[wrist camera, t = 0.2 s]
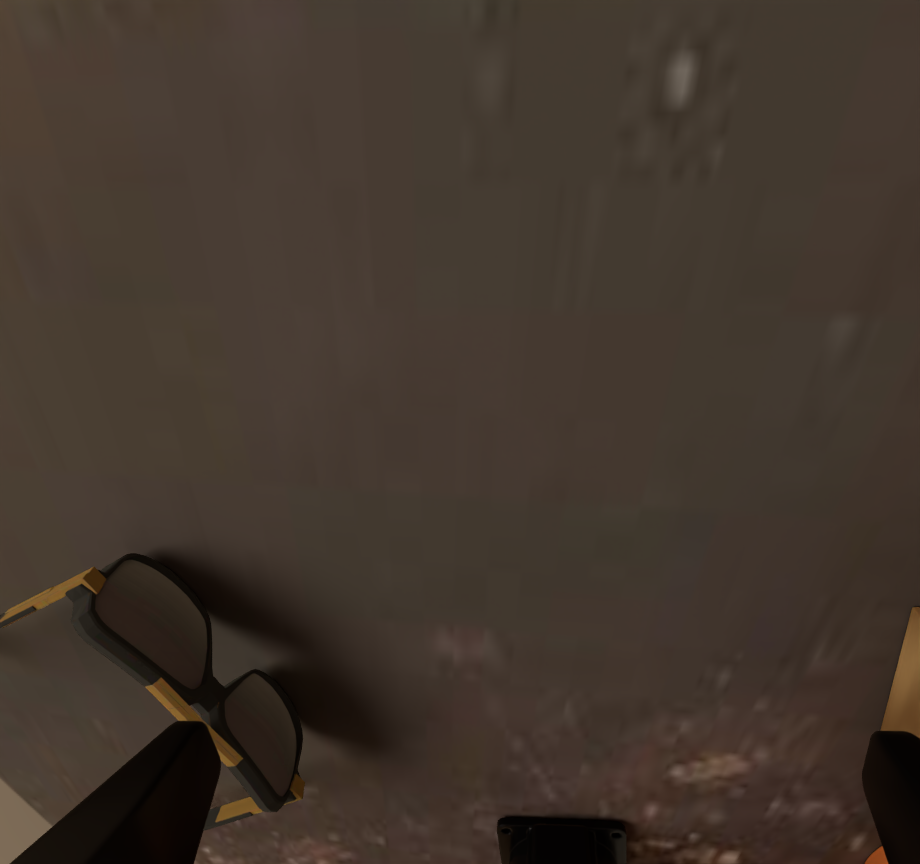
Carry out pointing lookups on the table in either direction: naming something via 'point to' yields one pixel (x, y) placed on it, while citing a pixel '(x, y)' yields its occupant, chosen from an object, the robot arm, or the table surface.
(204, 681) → the sunglasses
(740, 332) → the table surface
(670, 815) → the table surface
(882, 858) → the orange cylinder puck
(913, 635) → the maple stand
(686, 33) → the table surface
